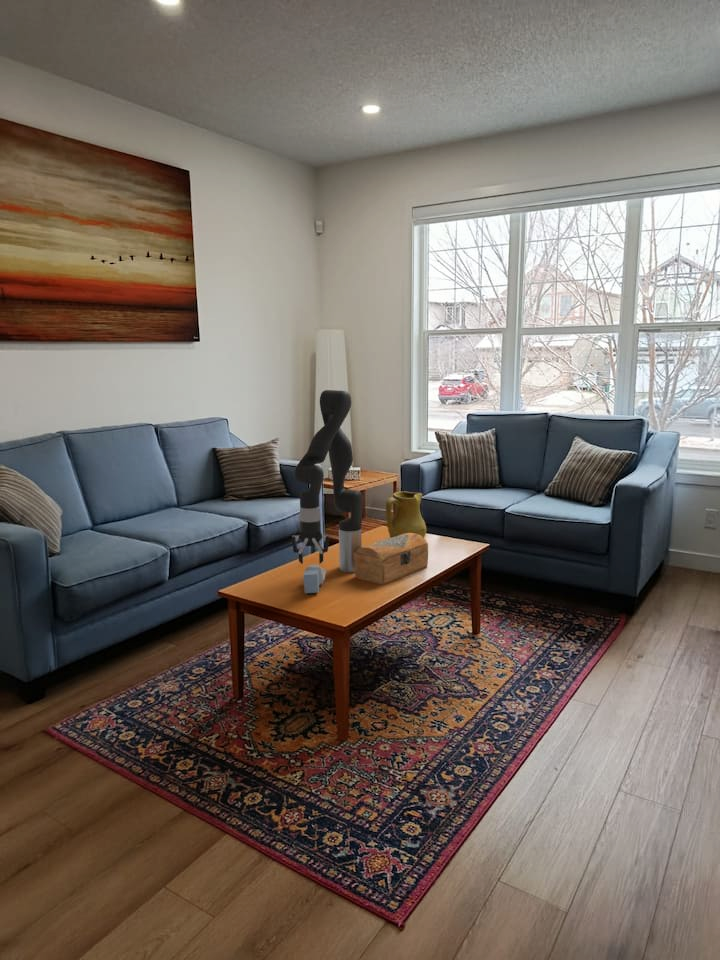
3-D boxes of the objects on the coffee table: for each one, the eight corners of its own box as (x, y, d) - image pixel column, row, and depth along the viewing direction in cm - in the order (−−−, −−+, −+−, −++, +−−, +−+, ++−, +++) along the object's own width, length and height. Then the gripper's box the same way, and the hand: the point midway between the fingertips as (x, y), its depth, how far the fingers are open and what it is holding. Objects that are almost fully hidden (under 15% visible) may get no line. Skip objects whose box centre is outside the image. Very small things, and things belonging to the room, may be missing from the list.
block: (305, 588, 252) (304, 570, 251) (319, 588, 252) (318, 570, 251) (304, 593, 247) (303, 575, 246) (318, 592, 247) (317, 574, 246)
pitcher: (427, 551, 301) (427, 497, 297) (385, 551, 302) (385, 497, 297) (425, 541, 318) (425, 489, 313) (385, 541, 319) (385, 489, 314)
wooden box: (384, 587, 257) (384, 551, 254) (352, 577, 267) (352, 544, 265) (431, 568, 278) (431, 535, 276) (400, 560, 289) (400, 529, 287)
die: (322, 590, 252) (327, 585, 262) (323, 566, 252) (327, 562, 262) (300, 589, 253) (305, 584, 263) (300, 565, 253) (306, 561, 263)
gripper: (330, 516, 249) (331, 559, 252) (291, 516, 249) (292, 560, 252) (329, 521, 241) (330, 566, 244) (289, 521, 241) (290, 566, 244)
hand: (311, 562), depth 248 cm, fingers open, 6 cm apart
